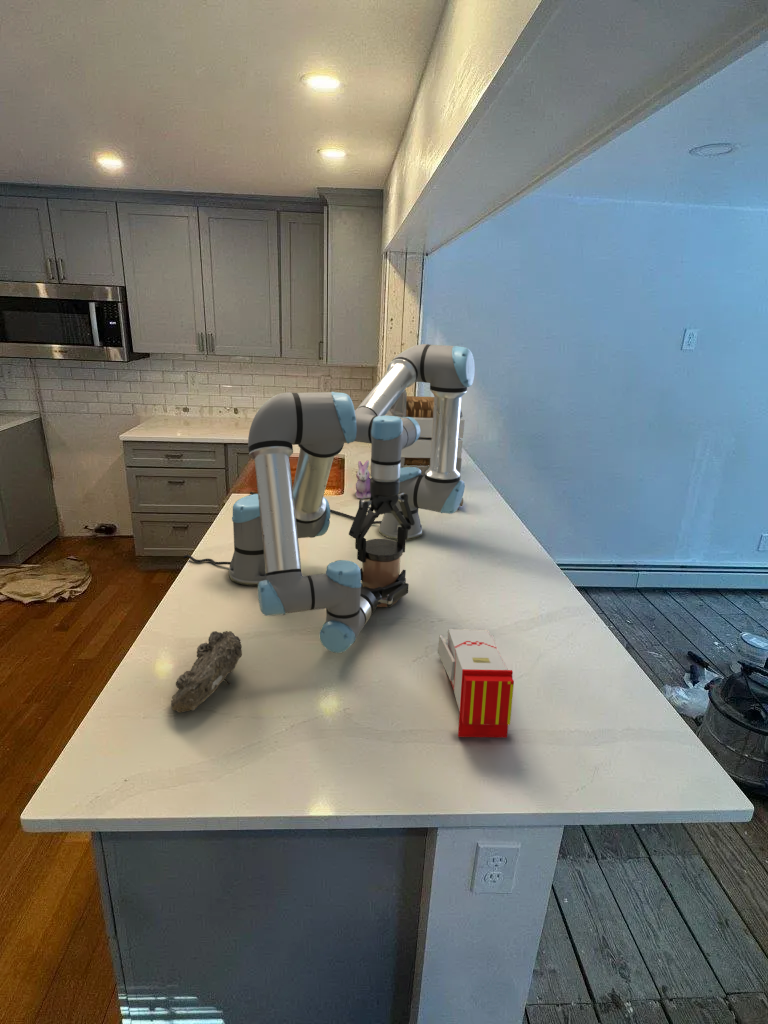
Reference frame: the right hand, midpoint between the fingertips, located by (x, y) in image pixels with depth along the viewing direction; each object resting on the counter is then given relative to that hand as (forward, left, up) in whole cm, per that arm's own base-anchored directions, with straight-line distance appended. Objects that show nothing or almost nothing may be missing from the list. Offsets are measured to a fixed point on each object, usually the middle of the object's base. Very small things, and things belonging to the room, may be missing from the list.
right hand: (381, 555), depth 151 cm
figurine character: (-42, +74, -13) cm, 86 cm away
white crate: (-84, +97, -13) cm, 129 cm away
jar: (0, 0, -13) cm, 13 cm away
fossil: (+7, -52, -13) cm, 54 cm away
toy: (+42, -11, -13) cm, 46 cm away
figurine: (-72, +52, -13) cm, 89 cm away
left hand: (-2, +4, -6) cm, 8 cm away
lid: (0, 0, +2) cm, 2 cm away
